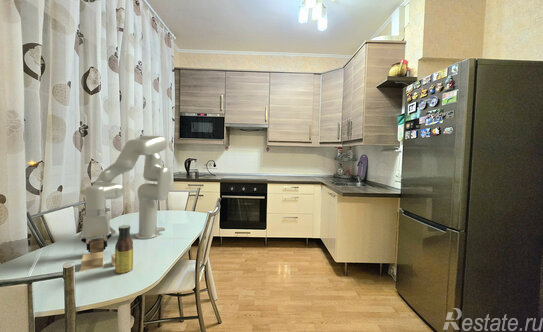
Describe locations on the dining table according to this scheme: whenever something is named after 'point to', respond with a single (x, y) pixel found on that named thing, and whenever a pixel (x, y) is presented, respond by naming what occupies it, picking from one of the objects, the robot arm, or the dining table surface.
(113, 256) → the maple block
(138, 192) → the robot arm
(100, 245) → the walnut cube
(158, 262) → the dining table surface
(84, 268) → the oak plinth
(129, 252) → the sauce bottle
